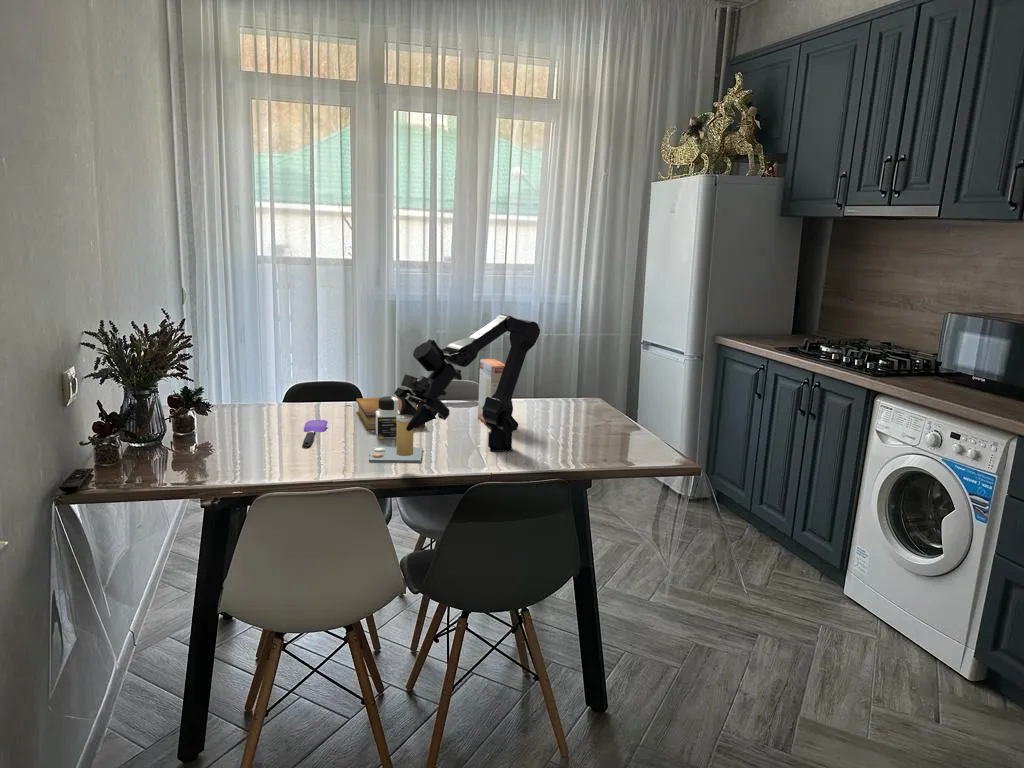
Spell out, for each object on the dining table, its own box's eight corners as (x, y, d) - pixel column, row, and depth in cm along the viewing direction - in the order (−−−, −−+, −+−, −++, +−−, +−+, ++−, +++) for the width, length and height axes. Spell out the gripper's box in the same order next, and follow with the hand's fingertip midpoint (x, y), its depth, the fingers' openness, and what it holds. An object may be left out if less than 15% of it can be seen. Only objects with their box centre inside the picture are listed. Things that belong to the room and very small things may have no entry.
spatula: (317, 449, 200) (317, 441, 200) (293, 449, 200) (292, 441, 199) (328, 427, 224) (328, 419, 223) (306, 427, 223) (306, 419, 222)
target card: (422, 449, 204) (422, 446, 203) (420, 462, 192) (420, 459, 192) (373, 448, 202) (373, 445, 202) (369, 461, 191) (369, 458, 190)
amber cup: (414, 450, 187) (414, 414, 185) (413, 456, 183) (413, 419, 181) (396, 450, 187) (396, 414, 185) (395, 456, 182) (395, 419, 180)
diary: (425, 429, 227) (425, 412, 225) (366, 433, 220) (367, 415, 219) (409, 411, 248) (410, 395, 246) (356, 414, 241) (356, 397, 240)
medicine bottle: (377, 439, 212) (377, 400, 209) (375, 432, 219) (375, 395, 216) (401, 438, 214) (401, 400, 211) (398, 431, 221) (398, 394, 218)
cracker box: (506, 428, 230) (508, 365, 226) (488, 428, 228) (490, 366, 224) (494, 417, 243) (496, 358, 239) (477, 417, 241) (479, 358, 237)
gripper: (400, 357, 189) (364, 402, 184) (441, 369, 176) (403, 417, 171) (424, 382, 196) (390, 426, 191) (465, 395, 183) (429, 443, 178)
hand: (402, 428), depth 183 cm, fingers closed on amber cup, 4 cm apart
